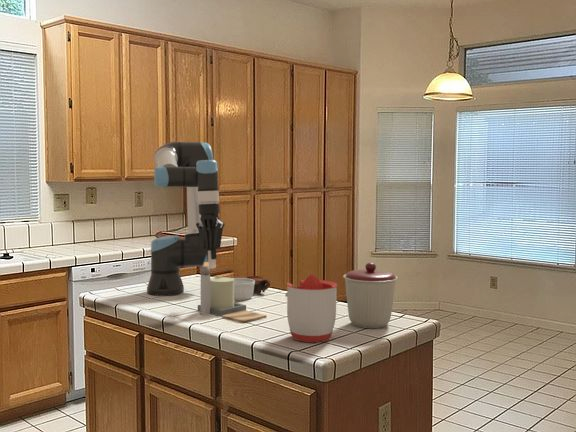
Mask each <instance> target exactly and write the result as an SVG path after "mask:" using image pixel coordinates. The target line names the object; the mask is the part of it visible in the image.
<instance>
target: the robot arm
mask: <svg viewBox="0 0 576 432" xmlns="http://www.w3.org/2000/svg"><path fill="white" fill-rule="evenodd" d="M153 157H154V159H153V160H154V163H155V166H156V167H154V170H153V173H154V174H153V175H154V177H153V178H154V186H156V187H161V188H186V207H187V208H186V209H187V210H186V211H187V213H186V214H187V231H186V233H184V234H183V237H184V238H180V236H179V235H167V236H166V235H165V236H160V237H157V238H154V239H152V241H151V244H150V253H151V254H150V255H151V256H150V259H151V260H150V277H149V280H148V284H147V287H146V293H147V295H150V296H151V295H152V296H156V297H158V296H160V297H161V296H163V297H164V296H165V297H166V296H176V295H180V294H183V293H184V291H185V287H184V286H185V285H184V283H183V280H182V277H181V274H180V271H181V270H180V269H181V268H188V267H189V268H191V267H192V268H194V267H200V268H201V267H203V266H204V263H205V262H209V267H210V269H212V270H213V269H216V268H217V263H216V262H217V250H218V249H220V248H221V247H222V246H221V244H222V237H223V231H224V230H223V229H224V226H225V222H224V221H223V222H222V221H221V220H220V216H219V214H221V208H220V206H221V205H220V203H219V202H220V192H219V174H218V171H219V168H218V161H216V160H215V159H214V156H213V150H212V147H211V145H210V144H209V143H208V142H200V141H193V142H192V141H171V142H166V143H165V144H162V145H161V146H160V147H158V148H157V150H155V153H154V155H153Z"/></svg>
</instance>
